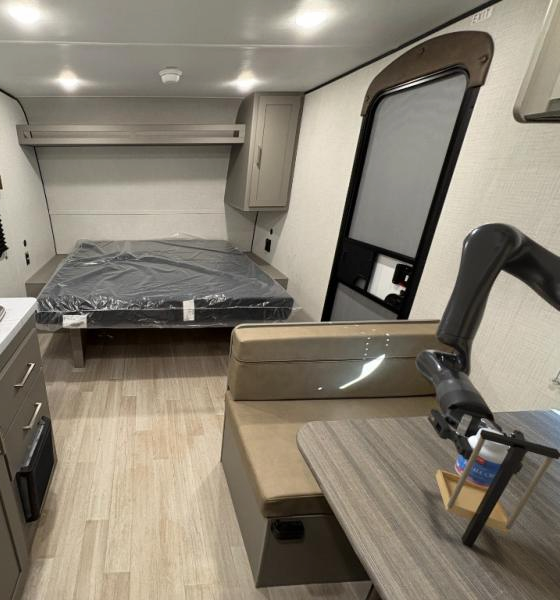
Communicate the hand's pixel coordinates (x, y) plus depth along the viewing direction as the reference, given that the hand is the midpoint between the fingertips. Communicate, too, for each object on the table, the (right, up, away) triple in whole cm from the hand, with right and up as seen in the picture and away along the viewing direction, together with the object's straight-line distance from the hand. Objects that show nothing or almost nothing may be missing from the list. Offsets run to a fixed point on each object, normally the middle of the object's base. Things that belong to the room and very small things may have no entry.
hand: (491, 462), depth 55 cm
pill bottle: (+1, -5, +4) cm, 7 cm away
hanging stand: (+1, -16, +8) cm, 18 cm away
